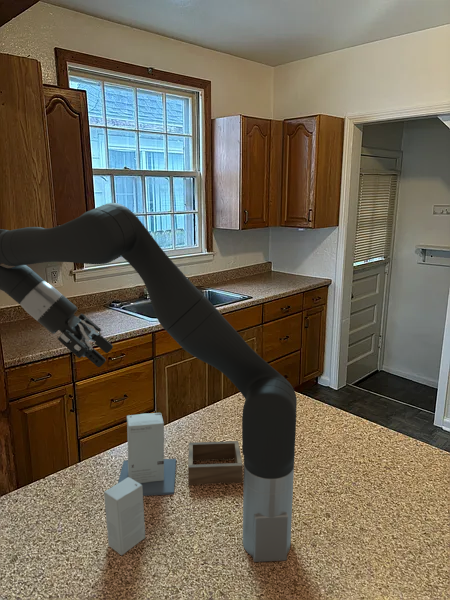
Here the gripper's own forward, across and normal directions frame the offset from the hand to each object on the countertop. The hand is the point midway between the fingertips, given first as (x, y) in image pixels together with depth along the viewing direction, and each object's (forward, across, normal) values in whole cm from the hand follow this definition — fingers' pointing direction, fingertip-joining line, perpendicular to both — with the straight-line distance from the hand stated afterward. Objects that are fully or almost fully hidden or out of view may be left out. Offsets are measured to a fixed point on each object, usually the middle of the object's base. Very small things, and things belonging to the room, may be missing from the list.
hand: (106, 356), depth 99 cm
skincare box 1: (+26, -20, +18) cm, 37 cm away
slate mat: (+27, 0, +16) cm, 32 cm away
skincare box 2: (+27, 0, +16) cm, 31 cm away
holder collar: (+38, +2, +5) cm, 39 cm away
